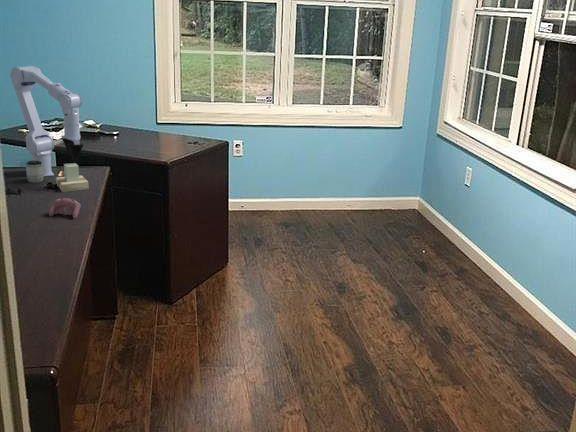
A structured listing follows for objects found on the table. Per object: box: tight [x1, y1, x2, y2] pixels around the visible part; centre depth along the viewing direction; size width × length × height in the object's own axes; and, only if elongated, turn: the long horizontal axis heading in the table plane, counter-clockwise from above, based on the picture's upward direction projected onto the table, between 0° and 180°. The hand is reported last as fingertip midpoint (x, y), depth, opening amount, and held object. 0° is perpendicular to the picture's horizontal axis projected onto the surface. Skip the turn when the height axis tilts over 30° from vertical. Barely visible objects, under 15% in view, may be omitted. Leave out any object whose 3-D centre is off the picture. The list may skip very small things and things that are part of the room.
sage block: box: [63, 162, 80, 182], centre depth 238 cm, size 4×4×6 cm
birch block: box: [55, 174, 90, 193], centre depth 239 cm, size 10×10×3 cm
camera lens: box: [25, 160, 45, 184], centre depth 243 cm, size 6×6×8 cm
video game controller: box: [48, 197, 82, 219], centre depth 210 cm, size 10×5×7 cm, turn 85°
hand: (73, 158), depth 241 cm, fingers open, 7 cm apart
